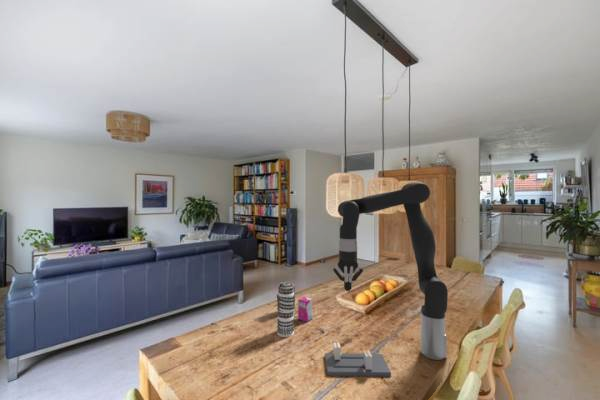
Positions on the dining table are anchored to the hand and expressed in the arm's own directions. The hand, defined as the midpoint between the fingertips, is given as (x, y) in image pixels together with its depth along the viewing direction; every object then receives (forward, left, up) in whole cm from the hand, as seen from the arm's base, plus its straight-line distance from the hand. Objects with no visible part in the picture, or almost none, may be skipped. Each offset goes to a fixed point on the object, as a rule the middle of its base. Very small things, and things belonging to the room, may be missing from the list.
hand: (347, 290), depth 111 cm
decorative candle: (+27, -22, -29) cm, 45 cm away
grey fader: (-7, +7, -27) cm, 29 cm away
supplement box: (+17, -37, -29) cm, 50 cm away
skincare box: (+28, -47, -29) cm, 62 cm away
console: (-3, +4, -29) cm, 29 cm away
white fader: (+4, +1, -27) cm, 28 cm away
